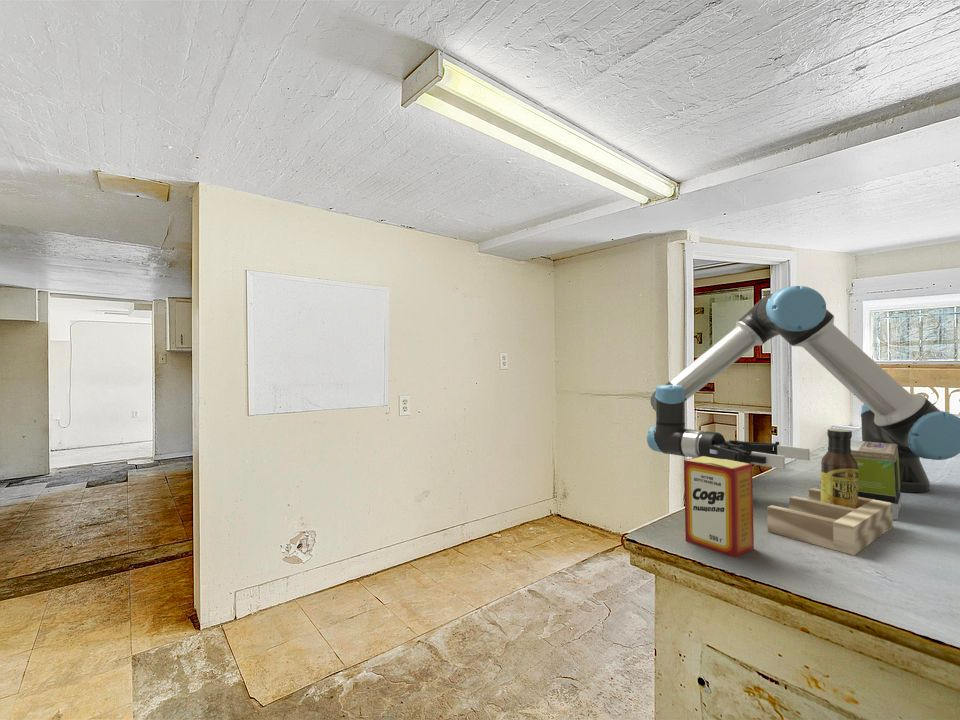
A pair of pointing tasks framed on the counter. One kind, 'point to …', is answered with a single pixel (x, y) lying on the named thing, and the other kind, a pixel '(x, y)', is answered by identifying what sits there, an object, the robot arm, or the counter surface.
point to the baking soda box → (719, 504)
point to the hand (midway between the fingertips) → (797, 458)
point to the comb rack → (831, 522)
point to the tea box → (878, 472)
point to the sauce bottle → (839, 471)
